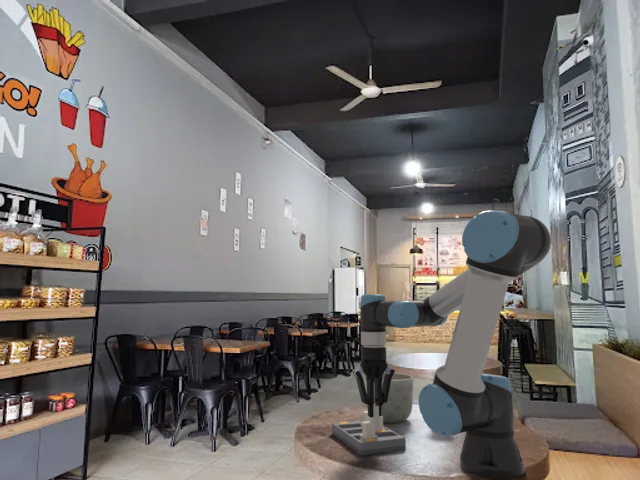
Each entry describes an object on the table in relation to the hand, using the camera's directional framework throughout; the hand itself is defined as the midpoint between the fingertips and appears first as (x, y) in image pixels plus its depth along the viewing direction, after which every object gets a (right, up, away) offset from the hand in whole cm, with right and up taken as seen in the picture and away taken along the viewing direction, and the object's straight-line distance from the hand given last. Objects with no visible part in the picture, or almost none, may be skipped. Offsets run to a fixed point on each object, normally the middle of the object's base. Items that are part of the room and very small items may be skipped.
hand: (374, 428), depth 130 cm
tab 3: (+1, -5, +6) cm, 8 cm away
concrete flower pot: (+9, -10, +30) cm, 32 cm away
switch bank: (-2, -6, +5) cm, 8 cm away
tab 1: (-1, -5, +12) cm, 13 cm away
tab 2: (-2, -4, -1) cm, 4 cm away
